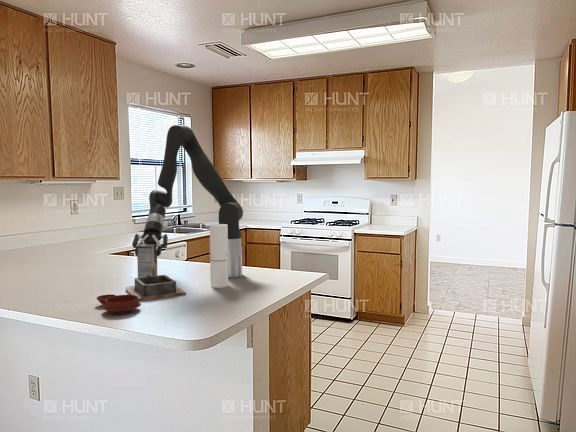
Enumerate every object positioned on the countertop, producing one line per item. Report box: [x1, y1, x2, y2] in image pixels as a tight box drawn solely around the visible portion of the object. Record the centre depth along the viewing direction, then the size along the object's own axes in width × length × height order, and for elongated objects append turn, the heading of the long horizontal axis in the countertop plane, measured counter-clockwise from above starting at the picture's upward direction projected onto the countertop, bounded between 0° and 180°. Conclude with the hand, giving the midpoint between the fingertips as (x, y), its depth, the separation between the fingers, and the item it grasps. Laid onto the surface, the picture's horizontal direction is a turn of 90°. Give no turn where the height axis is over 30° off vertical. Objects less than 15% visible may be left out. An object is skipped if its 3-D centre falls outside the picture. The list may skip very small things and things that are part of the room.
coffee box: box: [136, 242, 158, 278], centre depth 182 cm, size 9×6×16 cm
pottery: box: [96, 294, 142, 315], centre depth 143 cm, size 12×20×4 cm, turn 48°
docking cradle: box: [125, 274, 187, 302], centre depth 164 cm, size 18×18×5 cm
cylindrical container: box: [209, 223, 229, 289], centre depth 175 cm, size 7×7×25 cm
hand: (147, 255), depth 182 cm, fingers open, 8 cm apart
